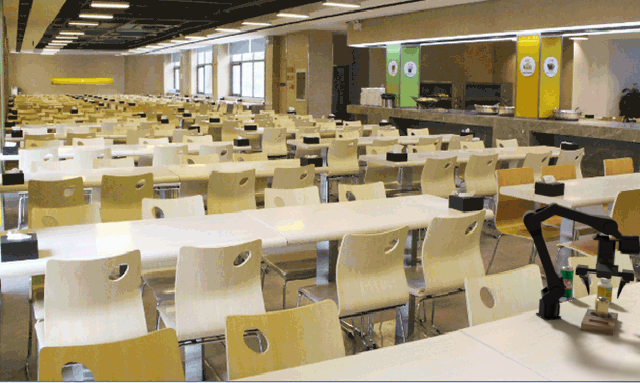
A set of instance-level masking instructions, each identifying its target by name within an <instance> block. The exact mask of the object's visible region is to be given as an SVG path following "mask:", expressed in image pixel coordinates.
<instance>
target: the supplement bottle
mask: <svg viewBox="0 0 640 383" xmlns="http://www.w3.org/2000/svg"><path fill="white" fill-rule="evenodd" d="M599 296H602V297H606V298H607V299H608V300H609V304H611V303H612V300H613V284H612V278H611V279H606V278H599V282H597V287H596V298H598V297H599Z"/></svg>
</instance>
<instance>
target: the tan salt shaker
mask: <svg viewBox="0 0 640 383" xmlns="http://www.w3.org/2000/svg"><path fill="white" fill-rule="evenodd" d="M594 300H595V301H594V316H596V317H600V318H608V312H609V305H610V303H609V300H608V299H607V298H606V297H602V296H599V297H598V298H597V297H596V298H595V299H594Z"/></svg>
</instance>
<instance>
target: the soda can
mask: <svg viewBox="0 0 640 383" xmlns="http://www.w3.org/2000/svg"><path fill="white" fill-rule="evenodd" d="M574 271H575V270H574V267H573V266H570V265H562V266H561V268H560V269H559V273H562V276H563V281H564V282H565V284H566V287H567V288H565V294H564V296H563V297H562V298H565V299H566V298H567V299H570V298H571V297H573V292H574V291H573V288H574V277H575V276H574V275H575V273H574Z"/></svg>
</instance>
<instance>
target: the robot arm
mask: <svg viewBox="0 0 640 383" xmlns="http://www.w3.org/2000/svg"><path fill="white" fill-rule="evenodd" d="M555 216H556V217H560V218H563V219H567V220H570V221H573V222H577V223H580V224H581V225H582V224H583V225H586V226H589V227H590V228H591V229H594V230H596V231H597V232H596V233H595V234H593V235H592V236H591V238H592V239H593V241H597V248H596V249H597V250H596V262H595V268H593V267H592V268H590V267H589V265H587V264H577V265H576V266H575V270H574V271H575V273H574V275H575V276H578V277H579V278H580V279H582V280H583V282H584V285H585V288H586V292H587V295H588V296H590V294H591V287H590V286H591V284H590V275H596V276H595V277H596V278H598V279H600V278H606V279H611V280H612V278H613V277H616V278H620V279H619V284H618V289H617V292H616V299H617V300H619V297H620V295H621V293H622V291H623V289H624V287H625V286H626V285H627V284H630V283H631V282H635V275H636V274H635V273H636V272H635V271H634V269H625V268H622V271H620V270H619V265H618V264H615V261H616V260H615V259H616V251H617V252H619V254H620V255H627V256H639V255H640V236H639V234H631V235H629V234H623V233H622V232H621V231H620V230H619V224H618V222H617V221H616V220H615V219H614V218H613V217H612V216H608V215H600V214H591V213H587V212H584V211H582V210H578V209H574V208H571V207H568V206H565V205H562V204H559V203H557V202H551V203H549V204H547V205H544V206H541V207H539V208H536V209H535V210H533V209H532V210H531V209H529V210H526V211H525V212H524V213H523V215H522V221H523V222H522V223H523V225H524V227H525V228H526V230H527V232H528V234H529V235H530V237H531V238H532V241H533V243H534V246H535V250H536V251H537V255H538V258H539V260H540V263H541V266H542V269H543V272H544V275H545V282H546V286H544V287H543V288H542V289H541V290H540V294H541V295H540V296H541V298H539V301H538V302H539V303H538V312H535V315H536V314H537V315H536V316H538V315H539V316H538V317H540V316H541V319H544V320H546V319H549V320H555V319H556V320H559V319H562V316H560V313H561V310H560V309H561V304H560V303H561V302H560V299H562V298H564V297H563V296H564V294H565V288H567V287H566V284H565V282H564V281H563V276H562V273H560V272H559V273H558V272H557V271H556V269H555V266H554V263H553V261H552V260H553V259H552V257H551V255H550V252H549V249H548V246H547V244H546V242H545V238H544V235H543V230H542V223H543V222H545V221H547V220H549V219H550V218H552V217H555ZM599 232H600V233H601V234H600V233H599ZM611 236H612V237H611Z"/></svg>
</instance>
